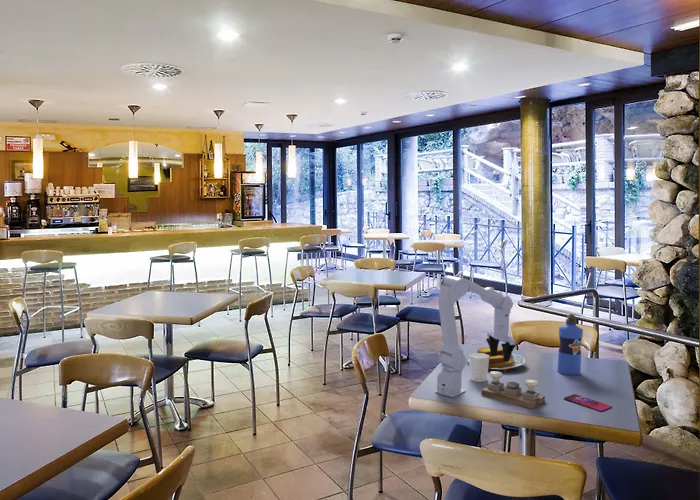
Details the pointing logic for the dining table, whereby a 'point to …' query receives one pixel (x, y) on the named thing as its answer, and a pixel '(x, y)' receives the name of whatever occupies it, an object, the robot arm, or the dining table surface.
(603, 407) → the smartphone
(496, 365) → the food on plate
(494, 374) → the left knob
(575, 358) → the water bottle
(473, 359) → the white cup
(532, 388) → the right knob
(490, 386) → the knob mount
